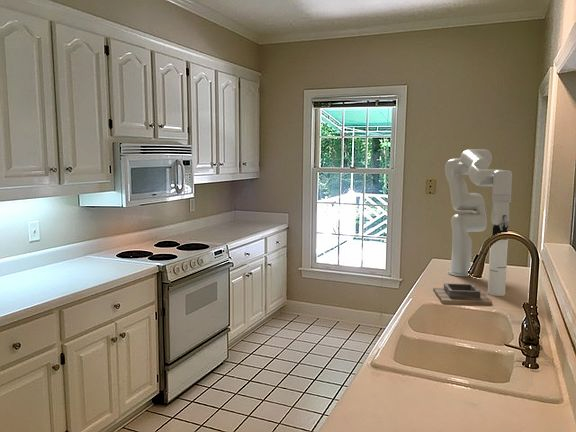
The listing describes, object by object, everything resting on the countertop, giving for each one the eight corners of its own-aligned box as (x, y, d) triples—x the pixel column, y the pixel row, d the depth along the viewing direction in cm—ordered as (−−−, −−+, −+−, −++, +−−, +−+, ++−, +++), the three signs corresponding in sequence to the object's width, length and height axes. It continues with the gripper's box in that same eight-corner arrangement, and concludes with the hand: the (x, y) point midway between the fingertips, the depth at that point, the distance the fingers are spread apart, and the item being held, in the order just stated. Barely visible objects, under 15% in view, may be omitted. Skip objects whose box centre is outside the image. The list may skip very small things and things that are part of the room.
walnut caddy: (433, 290, 225) (433, 280, 225) (478, 292, 223) (479, 282, 223) (442, 303, 206) (442, 293, 205) (492, 305, 203) (492, 294, 203)
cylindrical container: (506, 296, 216) (509, 239, 213) (489, 295, 218) (492, 239, 215) (502, 292, 223) (506, 237, 220) (486, 291, 225) (489, 236, 222)
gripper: (486, 197, 224) (485, 234, 226) (498, 200, 207) (497, 240, 209) (503, 197, 223) (502, 235, 225) (517, 200, 206) (515, 241, 208)
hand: (499, 237), depth 217 cm, fingers open, 9 cm apart
